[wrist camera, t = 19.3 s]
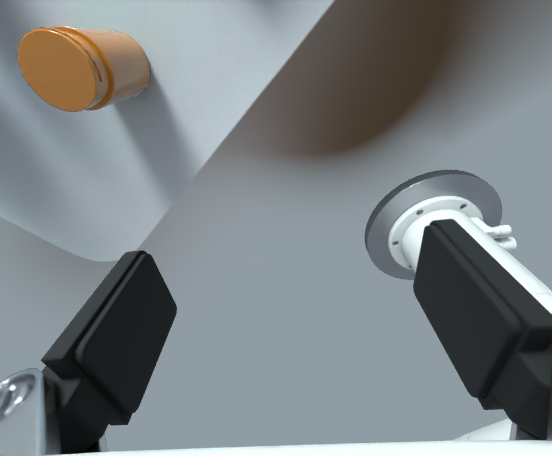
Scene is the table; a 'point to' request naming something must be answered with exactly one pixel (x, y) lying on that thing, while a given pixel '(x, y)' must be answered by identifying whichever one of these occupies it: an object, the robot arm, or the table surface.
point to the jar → (82, 66)
